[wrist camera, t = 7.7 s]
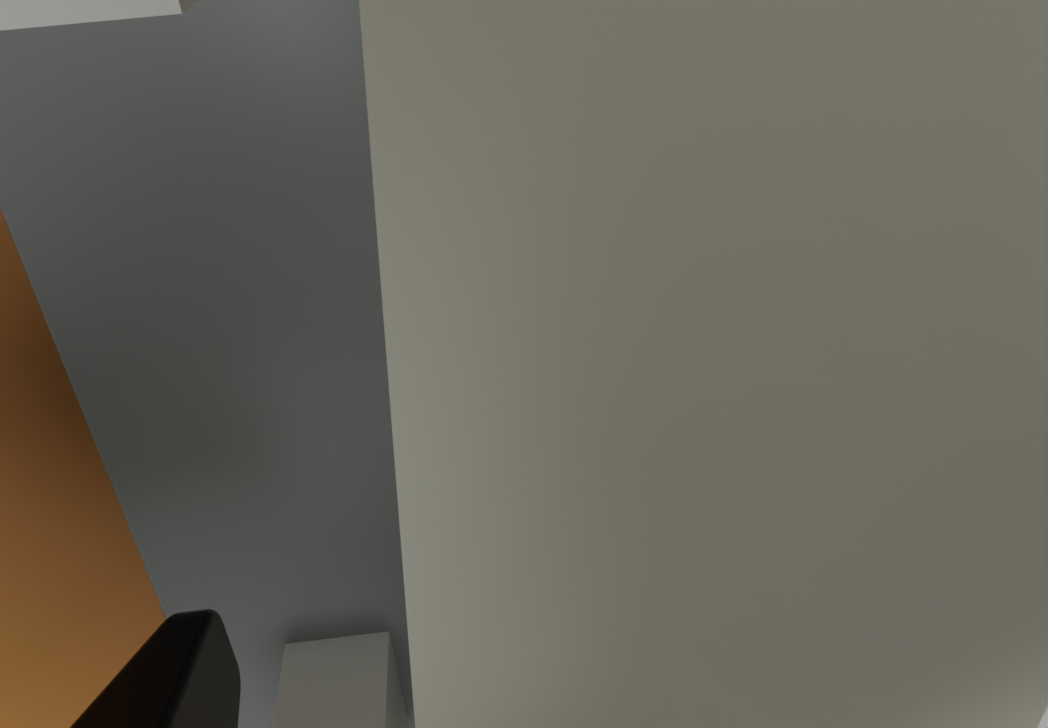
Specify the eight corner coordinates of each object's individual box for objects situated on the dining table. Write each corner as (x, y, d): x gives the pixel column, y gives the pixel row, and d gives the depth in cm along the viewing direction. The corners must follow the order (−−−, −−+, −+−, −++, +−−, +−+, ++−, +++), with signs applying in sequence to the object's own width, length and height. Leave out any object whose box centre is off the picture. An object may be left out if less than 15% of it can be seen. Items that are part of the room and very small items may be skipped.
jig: (955, 725, 17) (1065, 914, 14) (273, 813, 17) (241, 1029, 14) (1440, -977, 7) (2242, -1597, 4) (-363, -889, 6) (-1082, -1525, 3)
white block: (735, 750, 15) (853, 1108, 11) (441, 773, 15) (448, 1153, 11) (1013, -539, 7) (1903, -1061, 3) (365, -571, 7) (262, -1246, 2)
